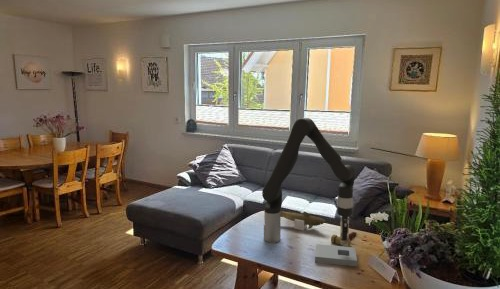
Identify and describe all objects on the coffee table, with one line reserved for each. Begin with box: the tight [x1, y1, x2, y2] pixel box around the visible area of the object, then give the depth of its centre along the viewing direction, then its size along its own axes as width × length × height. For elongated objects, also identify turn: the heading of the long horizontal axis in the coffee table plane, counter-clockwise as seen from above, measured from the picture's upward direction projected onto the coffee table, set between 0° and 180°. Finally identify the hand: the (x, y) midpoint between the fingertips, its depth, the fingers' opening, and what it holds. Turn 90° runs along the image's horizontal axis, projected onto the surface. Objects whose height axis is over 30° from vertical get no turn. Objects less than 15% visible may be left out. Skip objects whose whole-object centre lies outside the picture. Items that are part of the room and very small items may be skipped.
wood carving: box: [280, 209, 326, 231], centre depth 203 cm, size 9×35×11 cm, turn 61°
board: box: [314, 243, 358, 267], centre depth 165 cm, size 20×14×3 cm
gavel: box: [330, 231, 357, 247], centre depth 186 cm, size 21×5×10 cm
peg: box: [339, 223, 350, 246], centre depth 163 cm, size 4×4×12 cm
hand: (344, 237), depth 163 cm, fingers closed on peg, 4 cm apart
